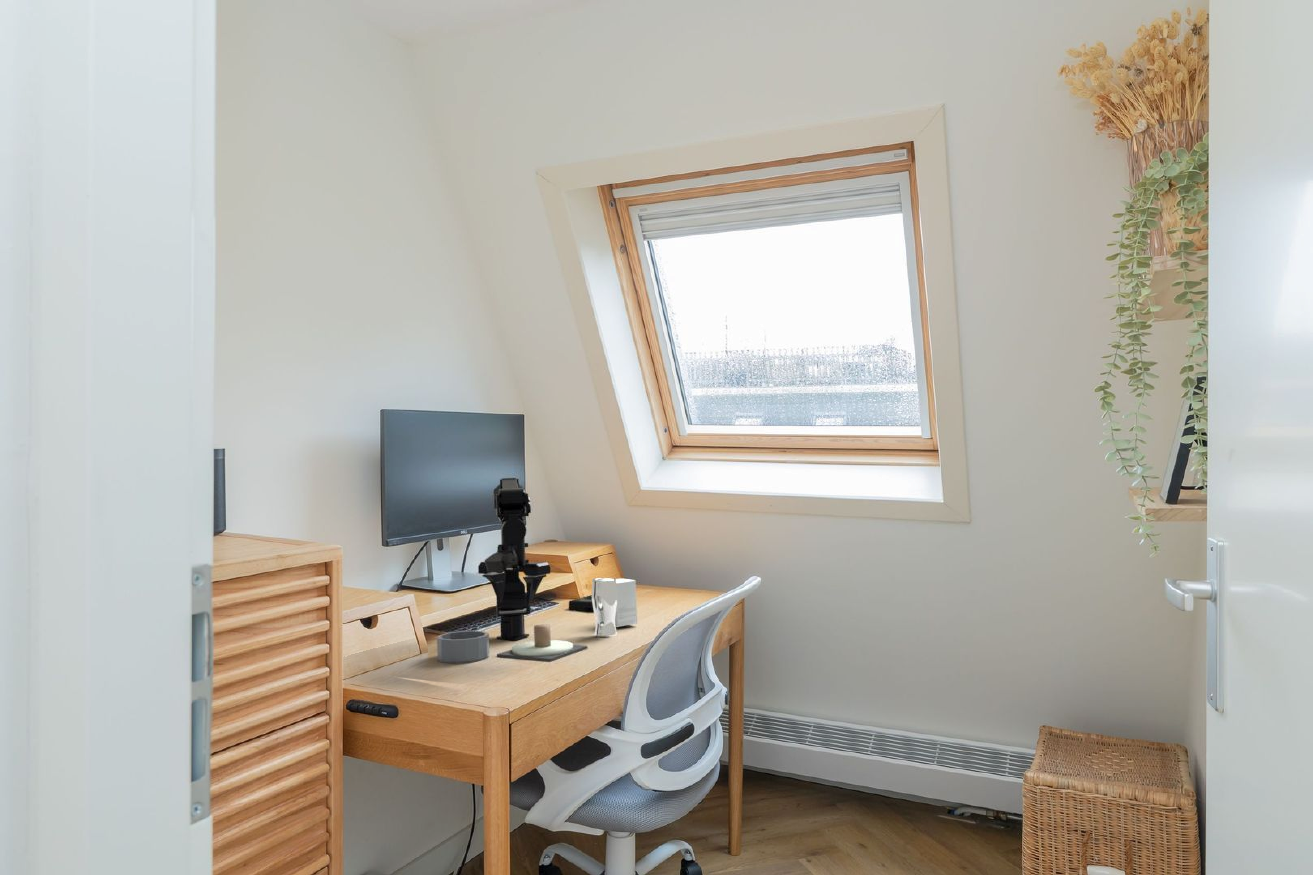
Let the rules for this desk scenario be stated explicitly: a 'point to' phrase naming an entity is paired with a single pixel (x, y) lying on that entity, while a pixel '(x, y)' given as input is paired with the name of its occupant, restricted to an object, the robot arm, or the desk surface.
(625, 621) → the supplement box
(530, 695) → the desk surface
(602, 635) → the beer glass
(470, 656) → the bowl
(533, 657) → the mat
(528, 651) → the lid
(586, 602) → the battery charger
